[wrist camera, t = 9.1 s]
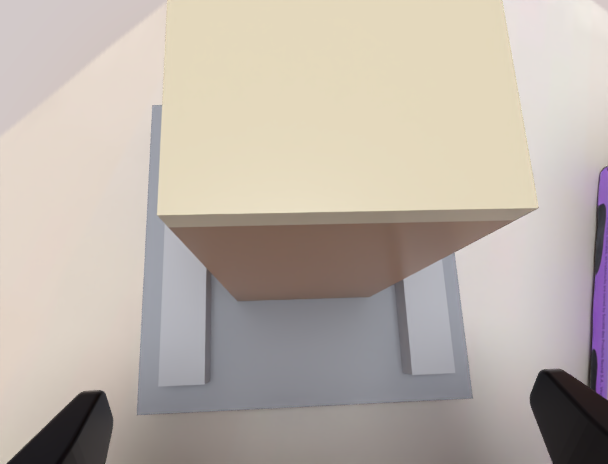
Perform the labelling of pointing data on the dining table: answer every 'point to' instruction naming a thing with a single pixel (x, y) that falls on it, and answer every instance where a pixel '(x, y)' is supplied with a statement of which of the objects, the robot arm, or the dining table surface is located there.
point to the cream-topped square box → (337, 139)
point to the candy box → (601, 295)
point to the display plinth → (289, 336)
